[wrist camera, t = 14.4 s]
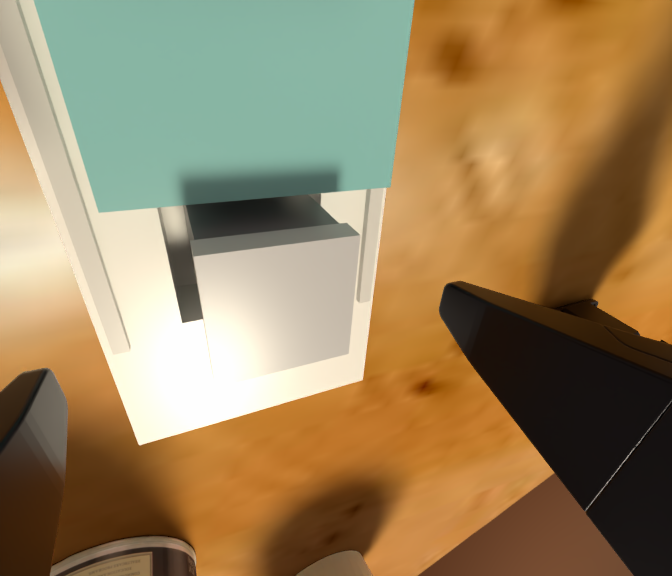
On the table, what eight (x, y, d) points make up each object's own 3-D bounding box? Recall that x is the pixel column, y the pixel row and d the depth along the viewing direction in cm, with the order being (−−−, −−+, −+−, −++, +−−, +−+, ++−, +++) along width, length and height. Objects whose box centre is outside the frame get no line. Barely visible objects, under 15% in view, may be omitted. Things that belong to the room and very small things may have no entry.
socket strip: (338, 342, 21) (365, 384, 18) (139, 391, 17) (138, 451, 15) (387, -358, 9) (482, -515, 6) (-217, -670, 5) (-540, -1310, 3)
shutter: (351, 164, 12) (390, 187, 10) (107, 178, 10) (98, 212, 8) (367, -63, 9) (426, -91, 7) (22, -128, 7) (-27, -195, 5)
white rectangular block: (284, 256, 16) (348, 353, 11) (191, 269, 15) (215, 387, 10) (283, 165, 14) (360, 235, 9) (174, 170, 13) (193, 256, 8)
